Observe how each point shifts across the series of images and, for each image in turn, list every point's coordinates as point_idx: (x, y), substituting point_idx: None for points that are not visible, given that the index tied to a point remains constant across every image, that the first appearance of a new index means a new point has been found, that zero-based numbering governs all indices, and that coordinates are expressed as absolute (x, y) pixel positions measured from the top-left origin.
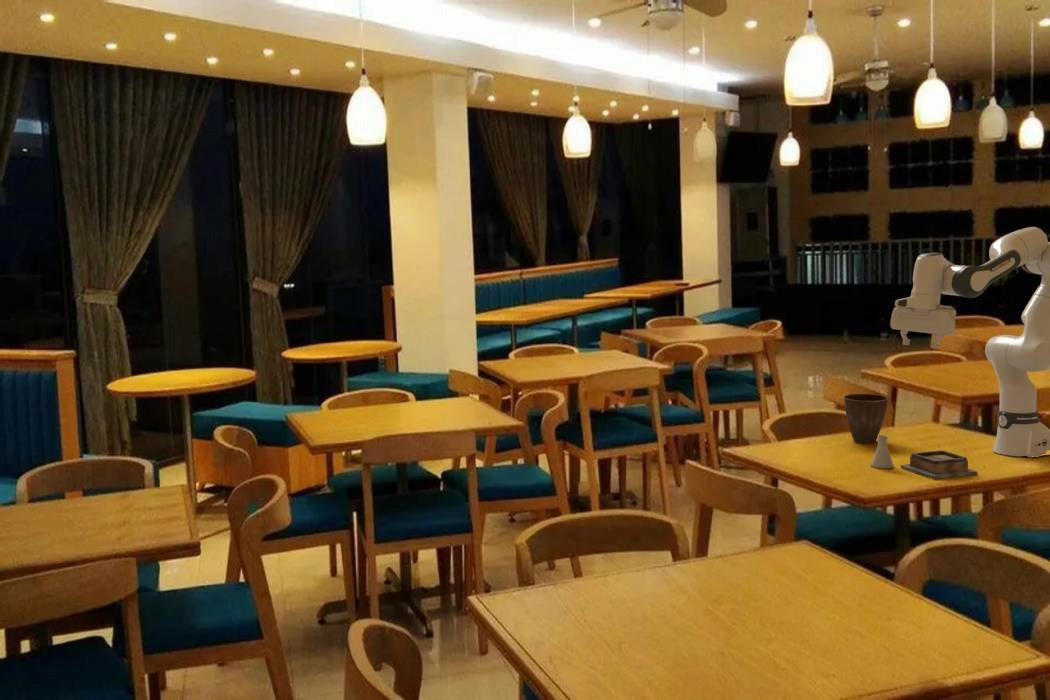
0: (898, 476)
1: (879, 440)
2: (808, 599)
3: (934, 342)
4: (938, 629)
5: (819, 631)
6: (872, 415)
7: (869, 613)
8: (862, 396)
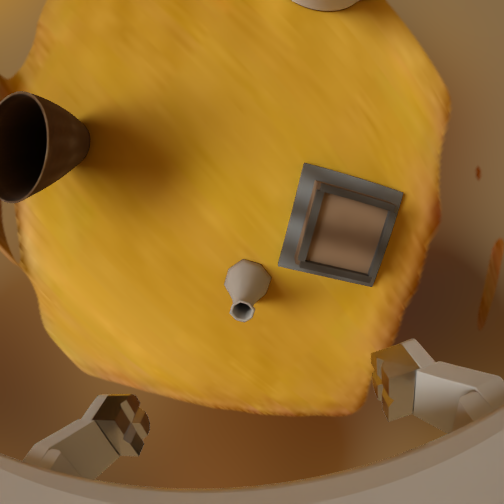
0: (317, 312)
1: (242, 314)
2: None
3: (420, 414)
4: None
5: None
6: (64, 159)
7: None
8: None
